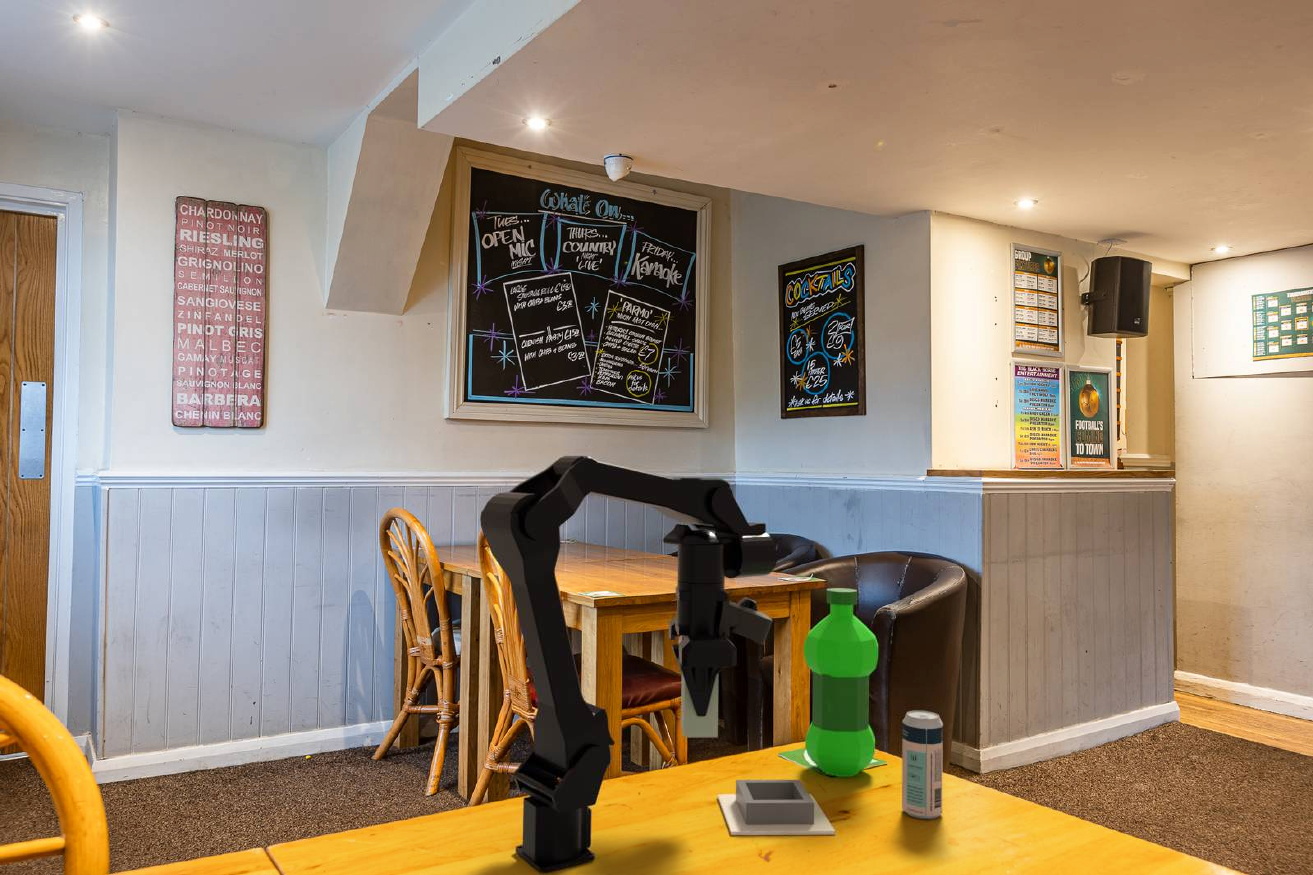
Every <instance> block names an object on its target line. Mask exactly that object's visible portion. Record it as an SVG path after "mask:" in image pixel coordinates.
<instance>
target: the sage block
mask: <svg viewBox="0 0 1313 875" xmlns="http://www.w3.org/2000/svg"><path fill="white" fill-rule="evenodd" d="M680 686H681V691H680V692H681V694H680V695H681V696H680V698H681V699H680V700H681V702H680V704H681V705H680V730H681V732H682V735H683V738H719V736H718V735H719V733H718V732H719V673H718V674H717V676H716V679H715V683H714V686H713V690H712V694H711V698H710V702H709V706H708V710H707V714H706V716H697V715H696V712H695V709H694V706H693V703H692V700H691V697H690V694H689V691H688V689H687V686H686V683H685V680H684V677H683V674H681V685H680Z"/></svg>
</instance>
